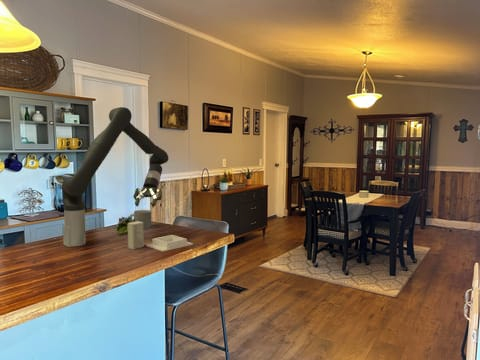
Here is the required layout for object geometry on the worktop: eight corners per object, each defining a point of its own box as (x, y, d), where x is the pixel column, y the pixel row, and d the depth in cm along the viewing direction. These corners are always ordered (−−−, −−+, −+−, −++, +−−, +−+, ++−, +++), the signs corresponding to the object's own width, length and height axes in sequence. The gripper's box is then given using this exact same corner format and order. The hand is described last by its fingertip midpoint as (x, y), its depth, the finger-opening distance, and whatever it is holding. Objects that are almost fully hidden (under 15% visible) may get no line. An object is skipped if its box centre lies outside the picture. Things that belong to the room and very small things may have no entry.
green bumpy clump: (122, 241, 209) (126, 222, 215) (138, 240, 205) (142, 220, 211) (109, 234, 200) (114, 214, 206) (125, 232, 196) (130, 211, 202)
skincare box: (138, 245, 181) (138, 220, 180) (144, 246, 179) (143, 222, 178) (127, 247, 177) (127, 222, 176) (132, 249, 174) (132, 224, 173)
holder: (163, 251, 171) (162, 244, 171) (145, 245, 181) (145, 239, 180) (192, 244, 184) (193, 238, 184) (175, 239, 194) (175, 233, 194)
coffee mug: (154, 227, 224) (154, 210, 223) (144, 230, 214) (144, 213, 214) (136, 224, 229) (136, 208, 228) (125, 228, 220) (125, 211, 219)
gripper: (137, 176, 196) (129, 201, 186) (163, 176, 194) (156, 201, 184) (141, 185, 202) (133, 209, 191) (166, 185, 200) (160, 210, 190)
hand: (144, 205), depth 188 cm, fingers open, 8 cm apart
